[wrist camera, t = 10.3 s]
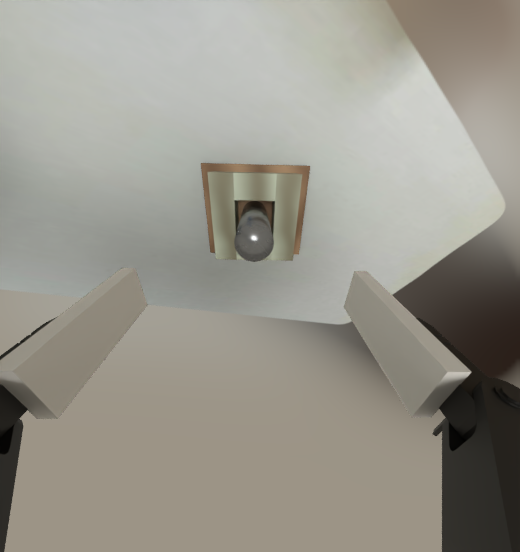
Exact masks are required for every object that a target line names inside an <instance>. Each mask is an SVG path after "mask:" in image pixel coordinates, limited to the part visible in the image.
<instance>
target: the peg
mask: <svg viewBox="0 0 520 552" xmlns="http://www.w3.org/2000/svg"><path fill="white" fill-rule="evenodd" d="M234 245H235V249H236V251H237V253H238V254H239V255H240V256H241V257H242V258H243V259H245V260H248V261H253V262H255V261H261V260H263V259H265V258H266V257H268V256H269V255H270V253H271V252H272V250H273V246H274V239H273V235H272V231H271V227H270V223H269V219H268V215H267V211H266V208H265V206H264V205H263V204H262V203H261V202H259V201H250V202H248V203H247V204H246V205H245V206H244V208H243V211H242V214H241V218H240V222H239V225H238V229H237V232H236V236H235V240H234Z"/></svg>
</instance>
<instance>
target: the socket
mask: <svg viewBox="0 0 520 552" xmlns="http://www.w3.org/2000/svg"><path fill="white" fill-rule="evenodd" d="M201 169H202V178H203V188H204V197H205V206H206V215H207V224H208V233H209V242H210V252H211V253H215V255H216V259H234V260H245V259H243V258H242V257H241V256H240V255H239V254H238V253H237V251H236V249H235V245H234V240H235V236H236V232H237V229H238V225H239V222H240V218H241V214H242V211H243V208H244V206H245V205H246V204H247V203H248V202H250V201H259V202H261V203H262V204H263V205H264V206H265V208H266V211H267V215H268V219H269V223H270V227H271V231H272V235H273V239H274V246H273V250H272V252H271V253H270V255H269V256H268V257H266V258H265V259H263V260H289V261H293V254H299V248H300V241H301V233H302V225H303V217H304V210H305V202H306V194H307V186H308V179H309V171H310V166H290V165H251V164H212V163H201Z"/></svg>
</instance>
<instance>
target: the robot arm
mask: <svg viewBox="0 0 520 552" xmlns="http://www.w3.org/2000/svg"><path fill="white" fill-rule="evenodd" d="M146 306H147V302H146V299H145V296H144V293H143V290H142V287H141V284H140V281H139V278H138V275H137V272H136V269H135V268H121V269H120V270H119V271H117V272H116V273H115V274H113V275H112V276H111V277H110V278H108V279H107V280H106V281H104V282H103V283H102V284H100V285H99V286H98V287H96V288H95V289H94V290H92V291H91V292H90V293H88V294H87V295H86V296H84V297H83V298H82V299H80V300H79V301H78V302H76V303H75V304H74V305H72V306H71V307H70V308H69V309H67V310H66V311H65V312H63V313H62V314H61V315H59V316H58V317H56V318H54V319H52V320H50V321H48V322H46V323H45V324H43V325H42V326H40V327H39V328H37V329H36V330H35V331H33V332H32V333H31V335H28V336H27V337H26V338H24V339H23V340H21V341H20V343H17V344H16V345H15V346H13V347H12V348H10V349H9V350H8V351H6V352H5V353H4V354H2V355H1V356H0V552H4V549H5V543H6V536H7V529H8V523H9V516H10V510H11V503H12V496H13V489H14V483H15V476H16V470H17V463H18V457H19V450H20V444H21V437H22V431H23V423H22V420H20V419H19V418H20V417H21V416H22V415H23V414H24V413H25V412H26V411H27V410H28V411H29V412H31V414H33V415H34V416H35V417H36V418H37V419H52V418H54V419H55V418H56V419H58V418H59V417H60V416H61V414H62V413H63V412H64V411H65V409H66V408H67V407H68V406H69V404H70V403H71V402H72V400H73V399H74V398H75V397H76V395H77V394H78V393H79V392H80V390H81V389H82V388H83V386H84V385H85V384H86V383H87V381H88V380H89V379H90V378H91V376H92V375H93V374H94V373H95V371H96V370H97V369H98V367H99V366H100V365H101V364H102V362H103V361H104V360H105V359H106V357H107V356H108V355H109V353H110V352H111V351H112V349H113V348H114V347H115V346H116V344H117V343H118V342H119V341H120V339H121V338H122V337H123V336H124V334H125V333H126V332H127V330H128V329H129V328H130V327H131V325H132V324H133V323H134V322H135V320H136V319H137V318H138V317H139V315H140V314H141V313H142V311H143V310H144V309H145V308H146ZM344 308H345V310H346V311H347V313H348V315H349V316H350V318H351V320H352V321H353V323H354V324H355V326H356V328H357V329H358V331H359V332H360V334H361V336H362V338H363V339H364V341H365V342H366V344H367V346H368V347H369V349H370V350H371V352H372V354H373V355H374V357H375V359H376V360H377V362H378V364H379V365H380V367H381V369H382V370H383V372H384V373H385V375H386V377H387V378H388V380H389V382H390V383H391V385H392V386H393V388H394V390H395V391H396V393H397V394H398V396H399V398H400V399H401V401H402V403H403V404H404V406H405V408H406V409H407V411H408V413H409V414H410V415H411V417H432V416H433V415H434V414H435V413H436V412H437V410H438V409H440V410H441V411H442V413H443V414H444V416H445V417H446V418H445V419H444V420H443V421H442V422H441V423H440V424H439V425H438V426H437V427H436V428H435V429H434V432H433V435H435V436H437V435H438V434H439V433H440V432H441V431H442V552H520V389H519V388H518V387H516V386H514V385H512V384H510V383H508V382H506V381H503V380H500V379H497V378H489V377H487V376H486V375H485V374H484V373H483V372H482V371H480V369H479V368H477V367H476V366H475V365H474V364H473V363H472V362H471V361H470V360H469V359H468V358H466V357H465V356H464V355H463V354H462V353H461V352H460V351H459V350H458V349H457V348H456V347H454V346H453V345H451V344H450V342H449V341H448V340H447V339H446V338H445V337H442V335H441V334H440V333H439V332H438V331H437V330H436V329H435V328H434V327H432V326H431V325H430V324H428V323H426V322H425V321H423V320H421V319H420V318H415V317H414V316H413V315H411V313H410V312H409V311H408V310H407V309H406V308H404V307H403V306H402V305H401V304H400V303H399V302H398V301H397V300H396V299H395V298H394V297H393V296H392V295H391V294H390V293H389V292H388V291H387V290H386V289H385V288H384V287H383V286H382V285H381V284H380V283H379V282H378V281H376V280H375V279H374V278H373V277H372V276H371V275H370V274H369V273H368V272H367V271H354V274H353V278H352V281H351V285H350V288H349V291H348V295H347V298H346V301H345V305H344Z"/></svg>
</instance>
